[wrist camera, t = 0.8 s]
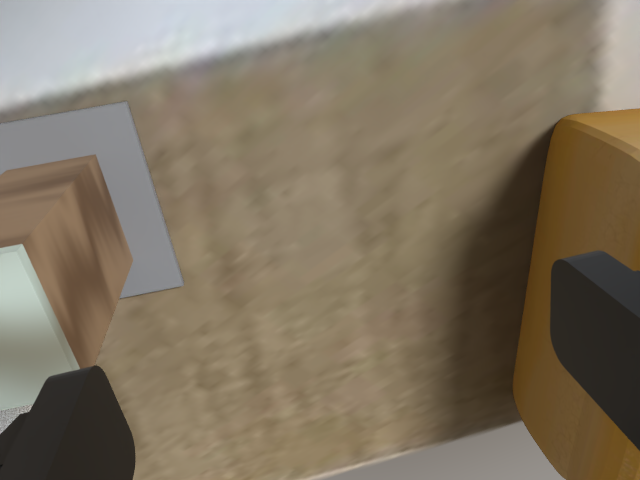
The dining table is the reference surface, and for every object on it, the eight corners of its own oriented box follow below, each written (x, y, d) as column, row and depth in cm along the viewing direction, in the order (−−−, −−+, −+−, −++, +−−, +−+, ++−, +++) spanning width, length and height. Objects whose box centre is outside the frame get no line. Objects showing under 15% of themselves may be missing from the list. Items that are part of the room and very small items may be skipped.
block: (6, 170, 30) (-125, 278, 19) (95, 154, 30) (16, 251, 19) (53, 275, 33) (-37, 418, 22) (133, 260, 33) (83, 393, 22)
